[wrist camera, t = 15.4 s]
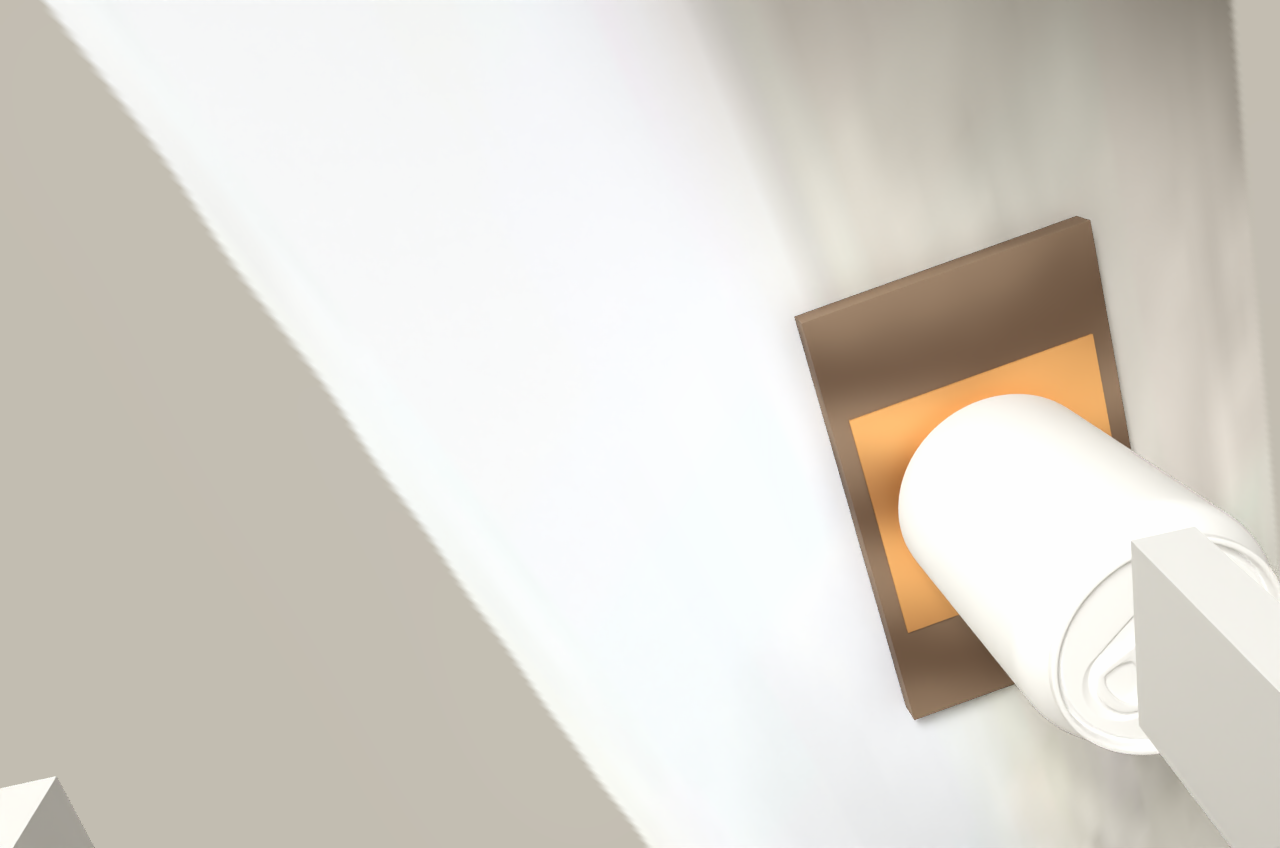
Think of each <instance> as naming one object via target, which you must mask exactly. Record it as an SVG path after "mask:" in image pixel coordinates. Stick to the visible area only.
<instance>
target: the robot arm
mask: <svg viewBox="0 0 1280 848" xmlns="http://www.w3.org/2000/svg"><path fill="white" fill-rule="evenodd" d="M1131 558H1132V581H1133V604H1134V626H1135V649H1136V672H1137V695H1138V718H1139V726H1140V728H1141V729H1142V730H1143V732H1144V733H1145V734H1146V736H1147V737H1148V738H1149V740H1150V741H1151V742H1152V744H1153V745H1154V746H1155V748H1156V749H1157V750H1158V752H1159V753H1160V754H1161V756H1162V757H1163V758H1164V760H1165V761H1166V762H1167V763H1168V765H1169V766H1170V767H1171V769H1172V770H1173V771H1174V773H1175V774H1176V775H1177V777H1178V778H1179V779H1180V781H1181V782H1182V783H1183V785H1184V786H1185V787H1186V789H1187V790H1188V791H1189V793H1190V794H1191V795H1192V797H1193V798H1194V799H1195V801H1196V802H1197V803H1198V805H1199V806H1200V807H1201V809H1202V810H1203V811H1204V813H1205V814H1206V815H1207V816H1208V818H1209V819H1210V820H1211V822H1212V823H1213V824H1214V826H1215V827H1216V828H1217V830H1218V831H1219V832H1220V834H1221V835H1222V836H1223V838H1224V839H1225V840H1226V842H1227V843H1228V844H1229V846H1230V847H1231V848H1280V602H1278V601H1277V600H1276V599H1275V598H1274V597H1273V596H1272V595H1271V594H1270V593H1268V592H1267V591H1266V590H1265V589H1264V588H1263V587H1262V586H1261V585H1260V584H1258V583H1257V582H1256V581H1255V580H1254V579H1253V578H1252V577H1251V576H1249V575H1248V574H1247V573H1246V572H1245V571H1244V570H1243V569H1242V568H1241V567H1239V566H1238V565H1237V564H1236V563H1235V562H1234V561H1233V560H1232V559H1231V558H1229V557H1228V556H1227V555H1226V554H1225V553H1224V552H1223V551H1222V550H1220V549H1219V548H1218V547H1217V546H1216V545H1215V544H1214V543H1213V542H1212V541H1210V540H1209V539H1208V538H1207V537H1206V536H1205V535H1204V534H1203V533H1201V532H1200V531H1199V530H1198V529H1197V528H1196V527H1195V526H1194V527H1190V528H1185V529H1181V530H1176V531H1171V532H1167V533H1162V534H1158V535H1153V536H1149V537H1144V538H1140V539H1135V540H1131ZM0 848H95V847H94V846H93V844H92V842H91V840H90V838H89V836H88V834H87V832H86V830H85V829H84V827H83V825H82V823H81V821H80V819H79V817H78V815H77V814H76V812H75V810H74V808H73V806H72V804H71V802H70V800H69V799H68V797H67V795H66V793H65V791H64V789H63V787H62V785H61V783H60V782H59V780H58V778H57V776H55V777H51V778H46V779H42V780H37V781H32V782H28V783H24V784H19V785H14V786H10V787H5V788H0Z"/></svg>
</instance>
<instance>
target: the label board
mask: <svg viewBox="0 0 1280 848" xmlns="http://www.w3.org/2000/svg"><path fill="white" fill-rule="evenodd" d="M795 320H796V324H797V327H798V331H799V334H800V338H801V341H802V345H803V348H804V352H805V355H806V359H807V362H808V366H809V369H810V373H811V376H812V380H813V383H814V387H815V390H816V394H817V397H818V401H819V404H820V408H821V411H822V415H823V418H824V422H825V425H826V429H827V432H828V436H829V439H830V443H831V446H832V450H833V453H834V457H835V460H836V464H837V467H838V471H839V474H840V478H841V481H842V485H843V488H844V492H845V495H846V499H847V502H848V506H849V509H850V513H851V516H852V520H853V523H854V527H855V530H856V534H857V537H858V541H859V544H860V548H861V551H862V554H863V558H864V561H865V565H866V568H867V572H868V575H869V579H870V582H871V586H872V589H873V593H874V596H875V600H876V603H877V607H878V610H879V614H880V617H881V621H882V624H883V628H884V631H885V635H886V638H887V642H888V645H889V649H890V652H891V656H892V659H893V663H894V666H895V670H896V673H897V677H898V680H899V684H900V687H901V691H902V694H903V698H904V701H905V705H906V707H907V709H908V710H909V712H910V714H911V715H912V717H913V719H914V720H916V719H919V718H921V717H924V716H927V715H930V714H933V713H935V712H938V711H941V710H944V709H946V708H949V707H952V706H955V705H957V704H960V703H963V702H966V701H969V700H971V699H974V698H977V697H980V696H982V695H985V694H988V693H991V692H993V691H996V690H999V689H1002V688H1004V687H1007V686H1010V685H1013V684H1015V683H1014V682H1013V681H1012V679H1011V678H1010V677H1009V676H1008V674H1007V673H1006V672H1005V671H1004V670H1003V668H1002V667H1001V666H1000V665H999V663H998V662H997V661H996V660H995V658H994V657H993V656H992V655H991V653H990V652H989V651H988V650H987V648H986V647H985V646H984V645H983V643H982V642H981V641H980V640H979V638H978V637H977V636H976V635H975V633H974V632H973V631H972V630H971V628H970V627H969V626H968V625H967V624H966V622H965V621H964V620H963V619H962V617H961V616H960V615H959V614H958V612H957V611H956V610H955V609H954V607H953V606H952V605H951V604H950V602H949V601H948V600H947V599H946V597H945V596H944V595H943V594H942V592H941V591H940V590H939V589H938V587H937V586H936V585H935V584H934V582H933V581H932V580H931V579H930V578H929V576H928V575H927V574H926V573H925V571H924V570H923V569H922V568H921V566H920V565H919V564H918V563H917V561H916V560H915V559H914V557H913V556H912V554H911V553H910V551H909V549H908V547H907V546H906V543H905V541H904V538H903V536H902V532H901V529H900V524H899V515H898V502H899V493H900V488H901V484H902V480H903V477H904V474H905V471H906V469H907V467H908V464H909V462H910V460H911V458H912V457H913V455H914V453H915V452H916V450H917V449H918V447H919V446H920V444H921V443H922V442H923V440H924V439H925V438H926V437H927V436H928V435H929V434H930V432H931V431H932V430H933V429H934V428H936V427H937V426H938V425H939V424H940V423H941V422H942V421H944V420H945V419H946V418H948V417H949V416H950V415H952V414H953V413H955V412H957V411H958V410H960V409H962V408H964V407H966V406H968V405H970V404H972V403H974V402H977V401H980V400H983V399H986V398H990V397H994V396H999V395H1006V394H1029V395H1035V396H1040V397H1044V398H1047V399H1050V400H1053V401H1055V402H1057V403H1059V404H1061V405H1063V406H1065V407H1066V408H1068V409H1070V410H1071V411H1073V412H1074V413H1076V414H1077V415H1079V416H1080V417H1082V418H1083V419H1085V420H1086V421H1088V422H1089V423H1091V424H1092V425H1094V426H1096V427H1097V428H1099V429H1100V430H1102V431H1103V432H1105V433H1106V434H1108V435H1109V436H1111V437H1112V438H1114V439H1115V440H1117V441H1118V442H1120V443H1121V444H1123V445H1124V446H1126V447H1127V448H1129V449H1131V447H1130V442H1129V436H1128V430H1127V425H1126V419H1125V413H1124V408H1123V402H1122V397H1121V391H1120V385H1119V380H1118V374H1117V368H1116V363H1115V357H1114V351H1113V346H1112V340H1111V335H1110V329H1109V323H1108V318H1107V312H1106V306H1105V301H1104V295H1103V290H1102V284H1101V278H1100V273H1099V267H1098V261H1097V256H1096V250H1095V245H1094V239H1093V233H1092V228H1091V222H1090V220H1087V219H1084V218H1081V217H1078V216H1075V217H1072V218H1070V219H1067V220H1064V221H1061V222H1058V223H1056V224H1053V225H1050V226H1047V227H1044V228H1042V229H1039V230H1036V231H1033V232H1030V233H1028V234H1025V235H1022V236H1019V237H1016V238H1014V239H1011V240H1008V241H1005V242H1002V243H1000V244H997V245H994V246H991V247H988V248H986V249H983V250H980V251H977V252H974V253H972V254H969V255H966V256H963V257H960V258H958V259H955V260H952V261H949V262H946V263H944V264H941V265H938V266H935V267H932V268H930V269H927V270H924V271H921V272H918V273H916V274H913V275H910V276H907V277H904V278H902V279H899V280H896V281H893V282H890V283H888V284H885V285H882V286H879V287H876V288H874V289H871V290H868V291H865V292H862V293H860V294H857V295H854V296H851V297H848V298H846V299H843V300H840V301H837V302H834V303H832V304H829V305H826V306H823V307H820V308H818V309H815V310H812V311H809V312H806V313H803V314H801V315H798V316H795Z"/></svg>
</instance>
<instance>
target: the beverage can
mask: <svg viewBox="0 0 1280 848" xmlns="http://www.w3.org/2000/svg"><path fill="white" fill-rule="evenodd" d="M898 515H899V524H900V529H901V532H902V536H903V538H904V541H905V543H906V546H907V547H908V549H909V551H910V553H911V554H912V556H913V557H914V559H915V560H916V561H917V563H918V564H919V565H920V566H921V568H922V569H923V570H924V571H925V573H926V574H927V575H928V576H929V578H930V579H931V580H932V581H933V582H934V584H935V585H936V586H937V587H938V589H939V590H940V591H941V592H942V594H943V595H944V596H945V597H946V599H947V600H948V601H949V602H950V604H951V605H952V606H953V607H954V609H955V610H956V611H957V612H958V614H959V615H960V616H961V617H962V619H963V620H964V621H965V622H966V624H967V625H968V626H969V627H970V628H971V630H972V631H973V632H974V633H975V635H976V636H977V637H978V638H979V640H980V641H981V642H982V643H983V645H984V646H985V647H986V648H987V650H988V651H989V652H990V653H991V655H992V656H993V657H994V658H995V660H996V661H997V662H998V663H999V665H1000V666H1001V667H1002V668H1003V670H1004V671H1005V672H1006V673H1007V674H1008V676H1009V677H1010V678H1011V679H1012V681H1013V682H1014V683H1015V684H1016V686H1017V687H1018V688H1019V689H1020V691H1021V692H1022V693H1023V694H1024V696H1025V697H1026V698H1027V699H1028V701H1029V702H1030V703H1031V704H1032V705H1033V707H1034V708H1035V709H1036V710H1037V711H1038V712H1039V713H1040V714H1041V715H1042V716H1043V717H1045V718H1046V719H1047V720H1048V721H1050V722H1051V723H1052V724H1054V725H1055V726H1057V727H1058V728H1060V729H1062V730H1064V731H1066V732H1068V733H1070V734H1072V735H1074V736H1077V737H1080V738H1083V739H1086V740H1088V741H1090V742H1091V743H1093V744H1095V745H1097V746H1099V747H1102V748H1104V749H1107V750H1110V751H1113V752H1117V753H1122V754H1129V755H1154V754H1160V753H1159V752H1158V750H1157V749H1156V748H1155V746H1154V745H1153V744H1152V742H1151V741H1150V740H1149V738H1148V737H1147V736H1146V734H1145V733H1144V732H1143V730H1142V729H1141V728H1140V726H1139V718H1138V695H1137V672H1136V649H1135V626H1134V604H1133V581H1132V558H1131V540H1135V539H1140V538H1144V537H1149V536H1153V535H1158V534H1162V533H1167V532H1171V531H1176V530H1181V529H1185V528H1190V527H1194V526H1195V527H1196V528H1197V529H1198V530H1199V531H1200V532H1201V533H1203V534H1204V535H1205V536H1206V537H1207V538H1208V539H1209V540H1210V541H1212V542H1213V543H1214V544H1215V545H1216V546H1217V547H1218V548H1219V549H1220V550H1222V551H1223V552H1224V553H1225V554H1226V555H1227V556H1228V557H1229V558H1231V559H1232V560H1233V561H1234V562H1235V563H1236V564H1237V565H1238V566H1239V567H1241V568H1242V569H1243V570H1244V571H1245V572H1246V573H1247V574H1248V575H1249V576H1251V577H1252V578H1253V579H1254V580H1255V581H1256V582H1257V583H1258V584H1260V585H1261V586H1262V587H1263V588H1264V589H1265V590H1266V591H1267V592H1268V593H1270V594H1271V595H1272V596H1273V597H1274V598H1275V599H1276V600H1277V601H1278V602H1280V582H1279V580H1278V578H1277V577H1276V575H1275V573H1274V572H1273V570H1272V569H1271V567H1270V564H1269V562H1268V559H1267V557H1266V555H1265V553H1264V551H1263V549H1262V548H1261V546H1260V544H1259V543H1258V542H1257V540H1256V539H1255V538H1254V536H1253V535H1252V534H1251V533H1250V532H1249V531H1248V530H1247V528H1246V527H1244V526H1243V525H1242V524H1241V523H1240V522H1239V521H1238V520H1236V519H1235V518H1234V517H1232V516H1231V515H1229V514H1228V513H1226V512H1225V511H1223V510H1222V509H1220V508H1219V507H1217V506H1216V505H1214V504H1213V503H1211V502H1210V501H1208V500H1207V499H1205V498H1203V497H1202V496H1200V495H1199V494H1197V493H1196V492H1194V491H1193V490H1191V489H1190V488H1188V487H1187V486H1185V485H1184V484H1182V483H1181V482H1179V481H1178V480H1176V479H1175V478H1173V477H1172V476H1170V475H1169V474H1167V473H1165V472H1164V471H1162V470H1161V469H1159V468H1158V467H1156V466H1155V465H1153V464H1152V463H1150V462H1149V461H1147V460H1146V459H1144V458H1143V457H1141V456H1140V455H1138V454H1137V453H1135V452H1134V451H1132V450H1131V449H1129V448H1127V447H1126V446H1124V445H1123V444H1121V443H1120V442H1118V441H1117V440H1115V439H1114V438H1112V437H1111V436H1109V435H1108V434H1106V433H1105V432H1103V431H1102V430H1100V429H1099V428H1097V427H1096V426H1094V425H1092V424H1091V423H1089V422H1088V421H1086V420H1085V419H1083V418H1082V417H1080V416H1079V415H1077V414H1076V413H1074V412H1073V411H1071V410H1070V409H1068V408H1066V407H1065V406H1063V405H1061V404H1059V403H1057V402H1055V401H1053V400H1050V399H1047V398H1044V397H1040V396H1035V395H1029V394H1006V395H999V396H994V397H990V398H986V399H983V400H980V401H977V402H974V403H972V404H970V405H968V406H966V407H964V408H962V409H960V410H958V411H957V412H955V413H953V414H952V415H950V416H949V417H948V418H946V419H945V420H944V421H942V422H941V423H940V424H939V425H938V426H937V427H936V428H934V429H933V430H932V431H931V432H930V434H929V435H928V436H927V437H926V438H925V439H924V440H923V442H922V443H921V444H920V446H919V447H918V449H917V450H916V452H915V453H914V455H913V457H912V458H911V460H910V462H909V464H908V467H907V469H906V471H905V474H904V477H903V480H902V484H901V488H900V493H899V502H898Z"/></svg>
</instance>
